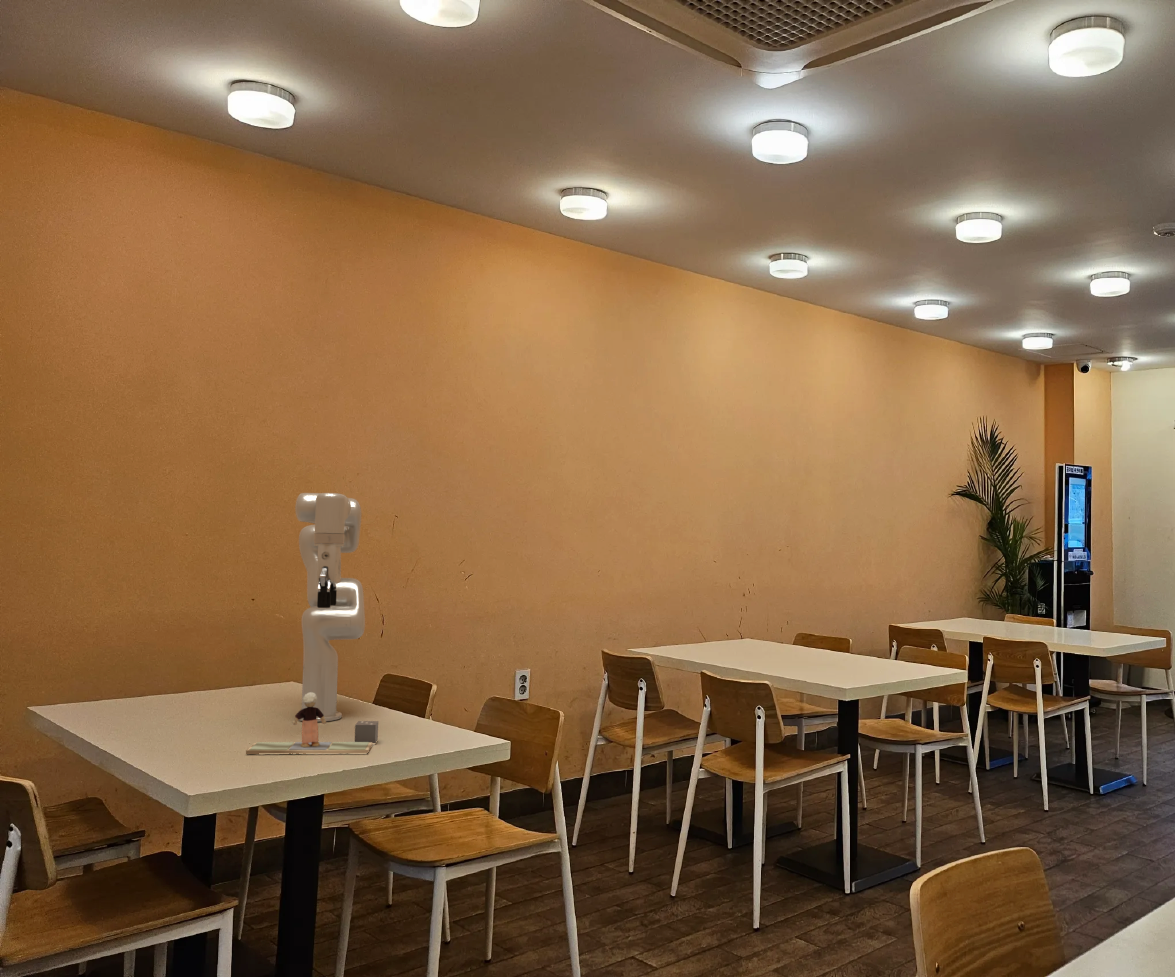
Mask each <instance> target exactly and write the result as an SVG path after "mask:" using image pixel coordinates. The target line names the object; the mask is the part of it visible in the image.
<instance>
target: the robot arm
mask: <svg viewBox="0 0 1175 977" xmlns="http://www.w3.org/2000/svg"><path fill="white" fill-rule="evenodd" d="M295 501H296V502H295V507H294V508H295V516H296V519H297V521H298V522H303V523H310V524H309V525H306V526H305V527H303V528H301V530H300V531H299V536H298V546H299V552H300V557H301V560H302V562H303V565H304V567H305V570H306V572H307V576H306V577H307V578H306V580H307V582H306V594H307V596H306V597H307V598H306V599H307V603H308V606H309V607H307V609H305V610H304V611H303V612H302V615H301V631H302V632H301V633H302V641H303V642H302V643H303V659H302V660H303V662H302V664H303V665H302V685H301V686H302V687H301V688H302V690H301V691H302V693H301V710H302V709H304V708H308V707H306V706H305V704H304V702H303V698H304V696H305V695H306V694H307V693H310V692H311V693H315V694H316V697H317V702H316V703H315V705H314V706H313V707H316V708H318V709H319V710H320V711H321V712H322V713H323V715H324V718H325V720H326V722H332V721H338V720H340V719H341V718H342V717H343V715H342V714H343V713H342V712H340V711H338V710H337V702H338V701H337V699H338V698H337V697H338V692H337V691H338V675H339V674H338V670H339V669H338V668H339V656H338V652H337V650H336V649H335V647H334V646H333V645H332V644H331V643H330V641H333V640H356V639H357V640H358V639H359V638H361V637H363V635H364V632H365V628H366V616H365V615H366V614H365V613H366V612H365V595H364V588H363V585H362V582H361V581H360V580H358V579H357V578H354V577H342V573H341V572H342V554H343V553H344V554H347V553H348V554H349V553H350V554H351V553H354V552H356V550H357V549H358V547H359V544H360V535H361V526H362V525H361V524H362V507H361V505H360V503H359V501H358V500H357V499H356V498H352V497H347V496H346V494H342V493H337V492H336V493H335V492H321V493H319V492H301V493H300V494H299V495H298V496H297V497H296V500H295ZM298 721H300V722H303V718H302V719H299V720H298ZM317 722H318V723H319V722H320V723H322V721H321V720H320V718H319V717H318V716H317Z"/></svg>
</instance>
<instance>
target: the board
mask: <svg viewBox="0 0 1175 977" xmlns="http://www.w3.org/2000/svg"><path fill="white" fill-rule="evenodd" d="M318 742H319V743H320V745H319V746H312V745H311V744H312V742H310V743H309V746H310V747H301V744H302V741H295V742H294V741H284V742H283V741H279V742H278V741H277V742H276V741H275V742H274V741H269V742H268V741H267V742H266V741H265V742H263V741H261V742H260V741H259V742H253V744H251V745H250V747H249V748H247V750H245V755H246V754H259V753H289V754H291V753H292V754H293V753H296V754H299V753H303V754H306V753H368V752H369V753H370V751H371V749H372V748H371V746H372V747H373V745H372V742H355V741H333V742H332V741H318ZM370 748H371V749H370ZM369 750H370V751H369ZM369 753H368V754H369Z"/></svg>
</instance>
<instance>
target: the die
mask: <svg viewBox="0 0 1175 977" xmlns="http://www.w3.org/2000/svg"><path fill="white" fill-rule="evenodd" d="M378 737H379V721H378V720H377V721H376V720H358V721H357V722H356V723H355V725H354V742H372V743H376V741H377V740H378V739H379V738H378ZM378 741H379V740H378ZM378 741H377V742H378ZM376 744H377V743H376Z"/></svg>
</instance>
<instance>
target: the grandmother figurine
mask: <svg viewBox="0 0 1175 977" xmlns="http://www.w3.org/2000/svg"><path fill="white" fill-rule="evenodd" d="M303 702H304V704H305V706H306V707H308V708H304V709H302V708H301V709H300V710H299V711H298V712H297V713H296V714H295V715H294V718H293V720H292V724H293V725H297V724H298V722H299V721H300V720H299V719H302V718H303V721H301V722H302V723H301V742H302V744H301V747H310V746H309V743H310V742H312V744H311V745H312V746H319V745H320V743H319V742H320V741H319V724H318V723H319V722H317V716H318V717H319V718H320V720H321V721H322V722H321V723H322V724H324V725H325V724H326V723H327V721H326V720H325V718H324V715H323V713H322V712H321V711H320V710H319V709H318V708H316V707H313V706H314V705H315V703H316V702H317V697H316V694H315V693H311V692H310V693H307V694H306V695H305V696H304V698H303Z"/></svg>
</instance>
